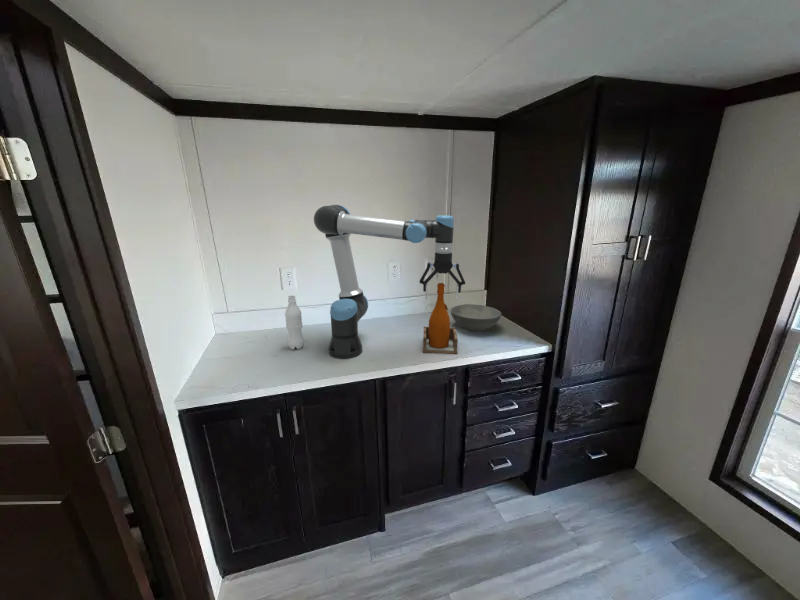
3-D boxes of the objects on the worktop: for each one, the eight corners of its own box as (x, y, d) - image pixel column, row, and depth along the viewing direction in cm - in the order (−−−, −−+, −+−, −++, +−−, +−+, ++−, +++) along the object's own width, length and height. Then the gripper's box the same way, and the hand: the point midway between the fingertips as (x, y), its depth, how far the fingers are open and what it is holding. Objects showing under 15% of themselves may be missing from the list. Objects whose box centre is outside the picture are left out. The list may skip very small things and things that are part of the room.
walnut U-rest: (457, 354, 155) (458, 340, 153) (422, 352, 157) (423, 339, 154) (454, 339, 171) (455, 327, 168) (423, 338, 172) (423, 325, 170)
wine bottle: (448, 350, 157) (451, 286, 148) (426, 348, 159) (428, 285, 150) (449, 341, 166) (452, 281, 157) (429, 339, 168) (431, 280, 159)
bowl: (440, 328, 185) (441, 310, 182) (465, 315, 204) (466, 299, 201) (485, 341, 168) (486, 322, 165) (507, 326, 188) (509, 309, 185)
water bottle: (299, 342, 166) (295, 293, 159) (307, 347, 161) (302, 296, 154) (285, 347, 161) (280, 296, 154) (293, 352, 157) (288, 299, 149)
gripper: (414, 253, 147) (413, 300, 153) (473, 254, 145) (470, 302, 151) (415, 250, 154) (414, 295, 160) (471, 251, 152) (468, 297, 158)
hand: (441, 298), depth 156 cm, fingers open, 13 cm apart
